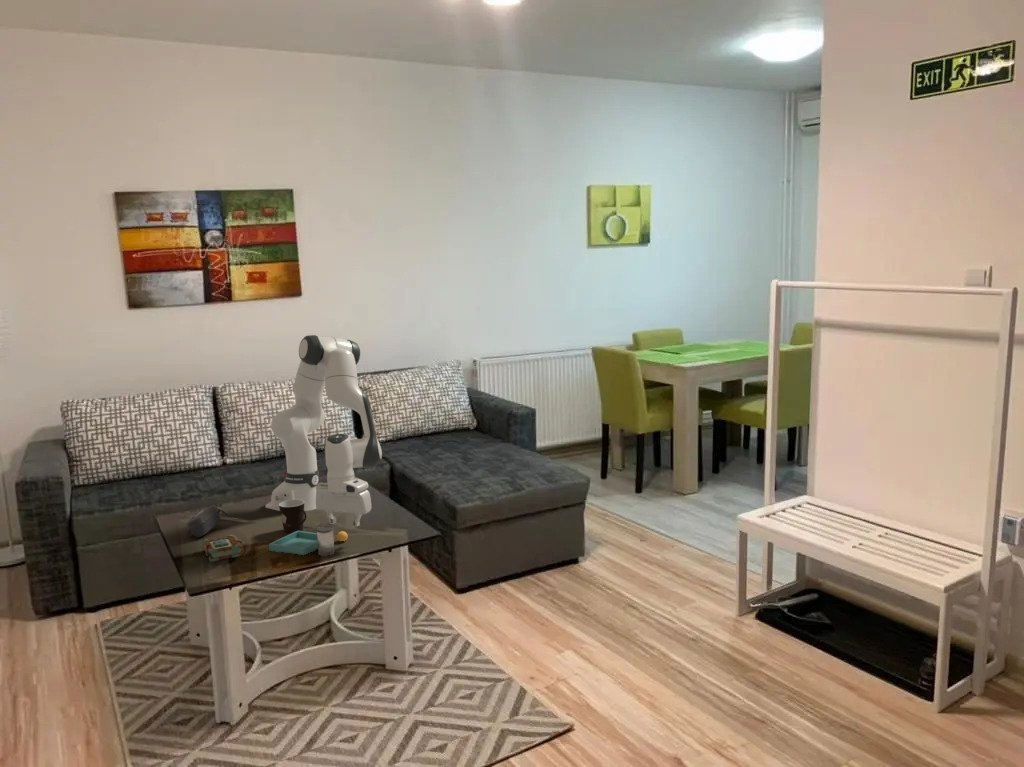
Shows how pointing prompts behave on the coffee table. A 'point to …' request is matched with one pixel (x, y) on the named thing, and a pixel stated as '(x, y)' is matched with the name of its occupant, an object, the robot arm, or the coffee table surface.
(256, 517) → the coffee table surface
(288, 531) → the coffee mug
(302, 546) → the tray
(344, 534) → the ball
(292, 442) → the robot arm
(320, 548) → the cup
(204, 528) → the glasses case
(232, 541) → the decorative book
